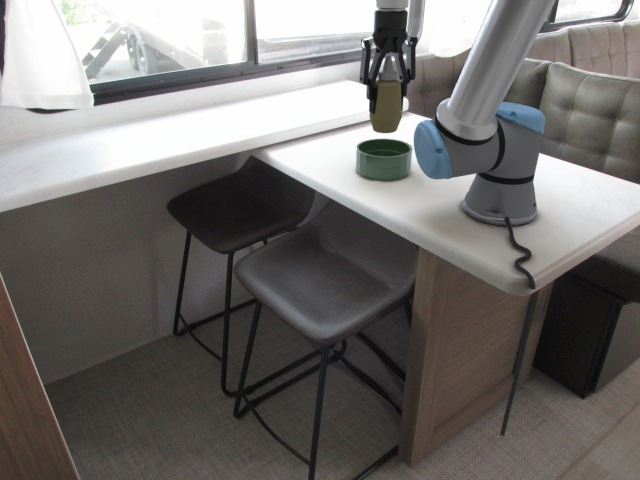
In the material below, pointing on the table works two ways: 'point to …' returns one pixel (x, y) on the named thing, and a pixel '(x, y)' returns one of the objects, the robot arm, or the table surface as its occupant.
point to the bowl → (383, 159)
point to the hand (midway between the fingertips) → (385, 111)
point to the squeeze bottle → (387, 100)
